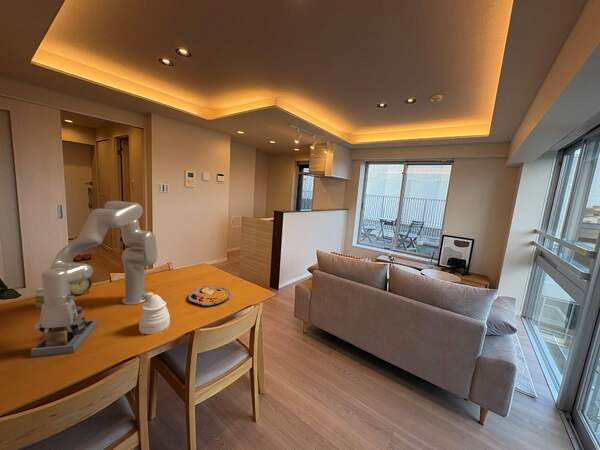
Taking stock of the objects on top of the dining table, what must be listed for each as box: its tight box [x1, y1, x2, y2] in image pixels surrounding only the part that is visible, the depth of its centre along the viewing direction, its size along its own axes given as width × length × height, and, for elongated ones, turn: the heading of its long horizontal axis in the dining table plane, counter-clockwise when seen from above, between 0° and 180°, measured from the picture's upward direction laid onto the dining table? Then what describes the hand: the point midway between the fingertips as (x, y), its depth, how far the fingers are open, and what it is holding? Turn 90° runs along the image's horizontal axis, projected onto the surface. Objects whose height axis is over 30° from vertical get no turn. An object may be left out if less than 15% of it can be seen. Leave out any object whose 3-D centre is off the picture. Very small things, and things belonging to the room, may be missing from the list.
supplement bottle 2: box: [73, 306, 86, 335], centre depth 106 cm, size 6×6×11 cm
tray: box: [30, 319, 98, 358], centre depth 102 cm, size 13×19×3 cm
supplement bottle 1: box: [34, 286, 44, 309], centre depth 126 cm, size 5×5×10 cm
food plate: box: [187, 285, 232, 306], centre depth 150 cm, size 25×23×4 cm
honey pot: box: [138, 292, 171, 334], centre depth 115 cm, size 13×13×18 cm
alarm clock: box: [70, 277, 93, 296], centre depth 140 cm, size 11×5×16 cm, turn 144°
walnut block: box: [44, 327, 70, 347], centre depth 98 cm, size 6×6×6 cm
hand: (60, 340), depth 98 cm, fingers closed on walnut block, 5 cm apart
